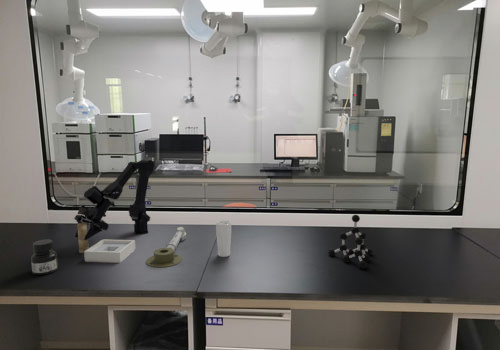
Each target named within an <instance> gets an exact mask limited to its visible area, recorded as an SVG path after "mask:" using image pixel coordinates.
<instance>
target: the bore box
mask: <svg viewBox="0 0 500 350" xmlns="http://www.w3.org/2000/svg"><path fill="white" fill-rule="evenodd" d="M134 251H136V240H135V239H101V240H99V241H97V243H95V244H93V245H92V246H89V249H87V250H86V251H84V253H83V256H84V262H86V263H89V262H90V263H111V264H113V263H114V264H115V263H116V264H118V263H119V264H120V263H122V262H123V261H124V260H126V258H127V257H128V258H129V256H130V255H131V254H132V253H134Z"/></svg>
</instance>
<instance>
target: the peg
mask: <svg viewBox="0 0 500 350" xmlns="http://www.w3.org/2000/svg"><path fill="white" fill-rule="evenodd" d="M87 226H88V225H87V223H79V224H78V223H77V224H76V227H77V228H78V237H77V240H78V252H79V254H84V251H86V250H87V249H89V248H90V246H89V245H90V244H89V239H87V240H84V238H85V236H86V234H87V232H88V231H89V229H87Z"/></svg>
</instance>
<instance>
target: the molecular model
mask: <svg viewBox="0 0 500 350" xmlns="http://www.w3.org/2000/svg"><path fill="white" fill-rule="evenodd" d="M351 220H352V222H354V223H353V227H352V228H351V230H350V231H349V232H343V231H342V232H341V233H340V234H339V238H340V239H341V242H342V243H341V244H340V245H339V246H338V247H339V248H337V249H334V248H330V249H328V252H327V254H328V256H329V257H335V256H336V254H337V253H338V252H342V253H343V257H342V261H343V262H344V263H349V262H351V259H352V258H355V257H356V258H358V260H359V261H358V265H357V266H358V267H359V268H360V269H361V270H364V269H367V266H368V264H367V262H369V261H370V259H371V258H370V256H371V255H372V254H373V253H374V252H373V249H372V248H370V247H366V245H365V244H364V240H365V239H366V238H367V233H366V232H364V231H360V229H359V227H357V226H358V225H357V224H358V222H359V221H360V220H361V219H360V215H358V214H353V215H352V217H351ZM350 235H355V239H354V242H355V244H356V245H357V248H354V249H353V248H351V247H350V248H347V245H346V244H345V243H346V242H345V241H346V240H347V239H348V236H350Z"/></svg>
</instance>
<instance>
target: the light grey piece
mask: <svg viewBox="0 0 500 350" xmlns="http://www.w3.org/2000/svg"><path fill="white" fill-rule="evenodd" d="M186 236H187V232H186V231H185V228H184V227H183V226H180V227H177V228H176V232H175V234H174V236H173V237H172V238H171V240H170V241H169V242H168V244H167V245H165V248H172V249H174V252H176V250H177V247H178V245H179V242H183V241H184V240H186V238H187V237H186Z"/></svg>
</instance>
